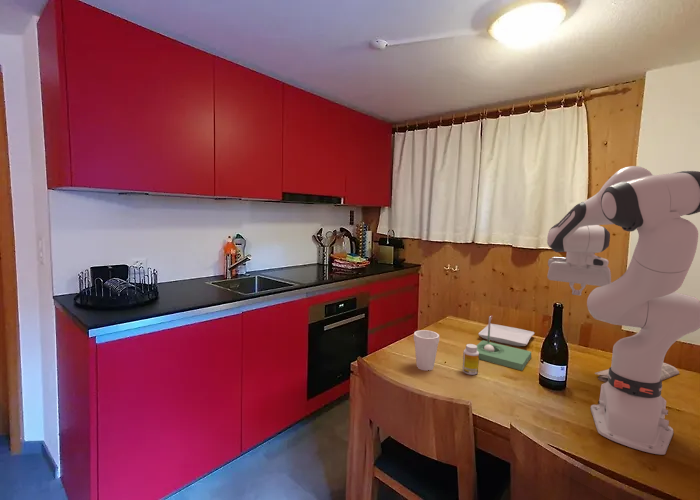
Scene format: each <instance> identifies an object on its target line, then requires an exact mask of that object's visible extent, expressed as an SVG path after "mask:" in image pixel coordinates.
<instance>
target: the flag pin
mask: <svg viewBox="0 0 700 500" xmlns="http://www.w3.org/2000/svg"><path fill="white" fill-rule="evenodd" d="M492 320H493V314H491V315H489V316H488V324H487V325H488V340H487V339H486V341H487V343H489V342H490V340H489V339H490V324H492V323H491V321H492Z"/></svg>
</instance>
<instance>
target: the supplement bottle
mask: <svg viewBox="0 0 700 500" xmlns="http://www.w3.org/2000/svg"><path fill="white" fill-rule="evenodd" d="M465 345H466V346H465V349H464V350H463V352H462V353H463V354H462V355H463V356H462V372H463V373H465V374H467V375H470V376H475V375H477V374H479V363H480V359H479V352H478V351H477V346H476V345H477V344H473V343H467V344H465Z"/></svg>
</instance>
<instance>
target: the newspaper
mask: <svg viewBox="0 0 700 500" xmlns="http://www.w3.org/2000/svg"><path fill="white" fill-rule="evenodd" d="M608 372H609V368H608V369H603V370H600V371H597V372H594V374H595V375H598V378H597V379H598V380H599V381H601V382H603V383H606V382H607V381H608ZM679 374H680V370H679V369H677V368H676V367H675V366H673V365H671V364H669V363H666V362H663V366H662V371H661V378H660V379H661V380H662V381H664V380H666V379H670V378H673V377H675V376H677V375H679Z"/></svg>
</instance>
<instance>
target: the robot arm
mask: <svg viewBox="0 0 700 500" xmlns="http://www.w3.org/2000/svg"><path fill="white" fill-rule="evenodd" d="M698 213H700V171H695V170H681V171H677V172H673V173H672V172H671V173H662V174H656V175H655V174H653V173H652V172H651V171H650V170H648V169H647V168H644V167H642V166H638V165H637V166H636V165H629V166H625V167H622V168H620V169H619V170H617V171H615V172H614V174H612V176H610V177H609V179H607V180H606V181H605V183H604V184H603V185H602V187H601V188H600V190H599V191H598V192H596V194H594V195H593V196H591V197H589V198H588V199H586V200H584V201H582V202H579V203H577V204H575V206H573V207H572V208H571V209H570V211H568V212H567V214H566V215H564V217H563V218H561V220H559V222H558V223H555V224H554V225H553V226H552V227H550V229H549V231H548V233H547V239H546V241H547V242H546V243H547V246H548V247H549V248H550V249H551V250H552V251H554V252H555V253H566V256H565V257H564V256H561V257H559V256H552V257H550V258H549V259H547V260H548V261H547V266H548V270H547V271H548V272H547V276H546V277H547V279H548V280H549V281H554V282H555V281H556V282H563V283H564V282H565V283H569V287H570V289H571V295H573V296H582V291H583V290H584V289H586V287H587V285H589V286H596V287H595V288H594V289H593V290H591V292H590V293H589V295H588V297H587V300H586V307H587V310H588V312H589V314H590V315H591V316H592V317H593V319H594V320H597V321H600V322H603V323H608V324H610V325H617V326H624V327H632V328H640V330H639V331H638V332H637V333H635V334H633V335H630V336H627V337H623V338H620V339H619V340H617V341H616V342H615V343H614V344H613V347H612V357H611V366H610V367H609V368H608V369H609V372H608V381H607V382H603V383H601V384H600V385H601V386H600V394H599V400H598V402H597V404H591V405H590V411H591V415H592V417H593V422H594V424H595V427H596V430H597V433H598V434H600V435H601V436H603V437H604V438H607V439H609V440H610V441H612V442H615V443H618V444H621V445H623V446H627V447H629V448H632V449H635V450H637V451H638V450H639V451H642V452H646V453H649V454H655V455H666V453H667V450H668V448H669V444H670V443H671V440H672V438H673V436H674V429H673V427H671V426H670V420H669V419H665V417H666V416H668V415H669V410H668V409H666V407H667V400H666V399H665V398H664V397H662V396H663V395H661V394H662V390H663V380H661V379H660V378H661V371H662V366H663V363H664V360H665V357H666V354H667V352H668V351H669V349H670V348H671V346H672V345H674V343H675V342H677V341H678V340H679V339H680V338H683V337H684V336H687V335H689V334H690V333H694V332H696V331H698V330H699V329H700V300H699V299H698V298H697V297H695V296H692V295H688V294H684V293H680V292H678V290H679V289H680V288H681V287H682V285H684V284H683V283H684V281H685V279H686V277H687V275H688V272H689V270H690V268H691V266H692V264H693V261H694V258H695V255H696V252H697V247H698V242H699V230H698V228H697V227H696V225H695V224H694V223H693V222H692V221H690V220H688V219H687V218H683V217H682V216H692V215H695V214H698ZM601 225H603V226H601ZM605 225H615V226H617V227H621V229H622V230H623V231H626V232H634V231H637V233H638V239H637V243H636V245H635V248H634V251H633V254H632V257H631V260H630V263H629V265H628V267H627V269H626V271H625V272H624V273H623V274H622V275H621V276H620V277H618V278H617V279H616V280H614V281H612V272H611V269H610V267H609V262H610V261H609V260H608V259H607V258H604V257H601V256H598V255H596V253H597V254H598V253H602V252H604V251H605V250H606V249H607V248H609V247H610V240H611V233H610V231H609V230H608V229H607V228H606V227H604V226H605ZM575 284H579V285H580V287H581V288H580V289H575V287H574V286H575Z"/></svg>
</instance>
